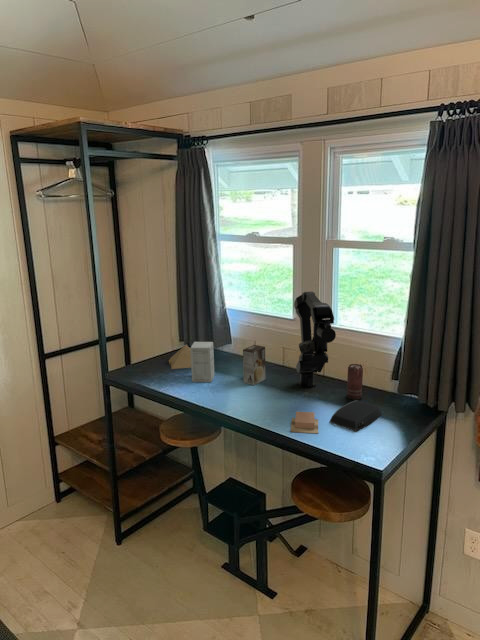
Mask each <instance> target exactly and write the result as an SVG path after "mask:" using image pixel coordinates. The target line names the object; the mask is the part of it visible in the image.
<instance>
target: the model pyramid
mask: <svg viewBox="0 0 480 640" xmlns="http://www.w3.org/2000/svg"><path fill="white" fill-rule="evenodd" d="M190 348H191V347H189V346H188V345H187V344H184V345H183V346H182V347H181V348H180V349H179V350H178V351H177V352H176V353H174V354H173V355H172V356H171V357H170V358H169V359H168V365H170V368H171V370H176V369H185V368H186V369H191V349H190Z"/></svg>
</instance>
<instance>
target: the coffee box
mask: <svg viewBox="0 0 480 640" xmlns="http://www.w3.org/2000/svg"><path fill="white" fill-rule="evenodd" d="M242 360H243V361H242V362H243V363H242V365H243V366H242V367H243V368H242V370H243V375H242V377H243V383H244V384H249V385H252V386H256V385H258V384H260V383H261V382H263V381H265V380H266V346H263V345H256V344H253V345H250V346H247V347H245V348H243V349H242Z"/></svg>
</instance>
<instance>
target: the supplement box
mask: <svg viewBox="0 0 480 640" xmlns="http://www.w3.org/2000/svg"><path fill="white" fill-rule="evenodd" d="M189 348H190V349H191V368H190V369H191V382H192V383H212V382H213V380H214V378H215V357H214V353H215V352H214V342H213V341H193V343H192V344H191V346H190V347H189Z"/></svg>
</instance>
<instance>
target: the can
mask: <svg viewBox="0 0 480 640" xmlns="http://www.w3.org/2000/svg"><path fill="white" fill-rule="evenodd" d="M363 374H364V368H363V365H361V364H358V363H351V364H349V365H348V367H347V378H346V379H347V380H346V381H347V382H346V397H347V398H348V399H349V400H353V401H356V400H358V401H359V400H360V399H361V398H362V394H363V376H364V375H363Z"/></svg>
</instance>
